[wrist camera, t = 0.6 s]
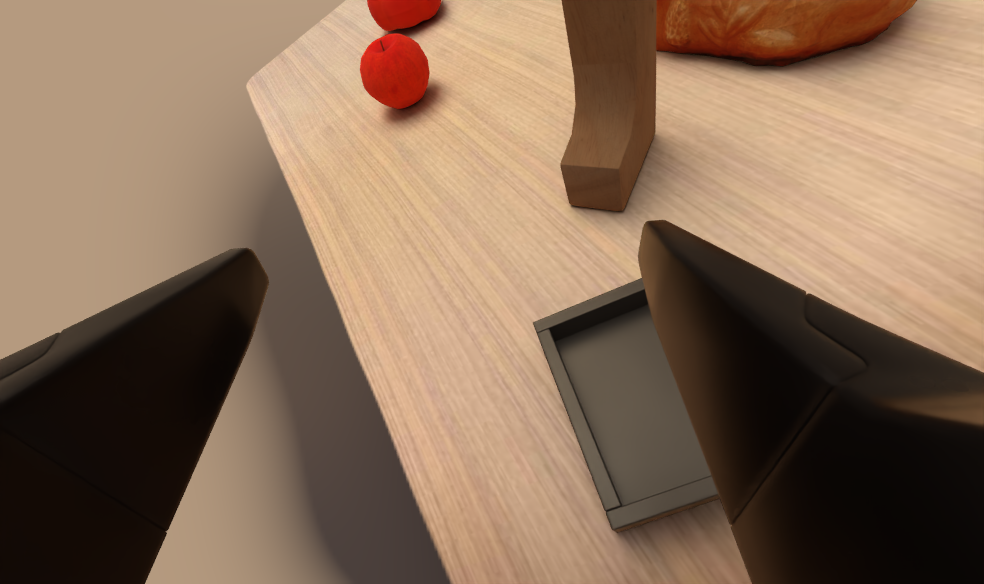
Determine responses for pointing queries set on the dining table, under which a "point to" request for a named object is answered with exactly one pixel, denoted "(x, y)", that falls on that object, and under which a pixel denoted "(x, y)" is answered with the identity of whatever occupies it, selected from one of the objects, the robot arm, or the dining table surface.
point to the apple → (395, 71)
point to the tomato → (402, 12)
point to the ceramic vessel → (771, 27)
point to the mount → (626, 407)
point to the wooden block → (609, 98)
